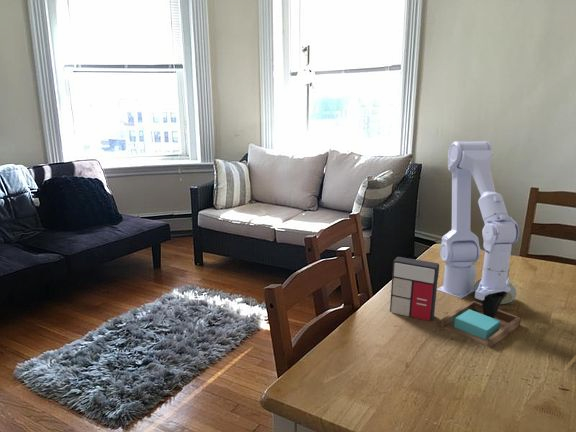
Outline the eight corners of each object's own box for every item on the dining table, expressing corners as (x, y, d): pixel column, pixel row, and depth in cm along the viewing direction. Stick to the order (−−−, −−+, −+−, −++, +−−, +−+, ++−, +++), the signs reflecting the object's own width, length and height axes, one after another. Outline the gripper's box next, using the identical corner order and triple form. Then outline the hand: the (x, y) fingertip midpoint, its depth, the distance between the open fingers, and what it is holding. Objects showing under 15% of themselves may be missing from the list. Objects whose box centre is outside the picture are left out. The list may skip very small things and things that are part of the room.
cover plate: (468, 318, 115) (469, 309, 115) (499, 330, 110) (500, 320, 109) (454, 327, 111) (455, 317, 110) (485, 339, 105) (486, 330, 105)
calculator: (388, 314, 118) (392, 261, 114) (393, 307, 122) (396, 256, 118) (431, 323, 114) (436, 269, 110) (434, 316, 117) (439, 263, 113)
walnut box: (471, 308, 121) (472, 300, 121) (519, 326, 112) (521, 317, 112) (440, 328, 111) (441, 319, 111) (490, 349, 102) (491, 339, 102)
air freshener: (475, 304, 124) (479, 270, 121) (471, 291, 132) (474, 260, 129) (518, 308, 122) (523, 274, 119) (511, 295, 129) (515, 263, 127)
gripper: (498, 280, 103) (491, 332, 107) (524, 264, 112) (517, 313, 116) (469, 271, 108) (463, 321, 112) (496, 257, 117) (490, 304, 121)
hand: (489, 317), depth 114 cm, fingers closed
